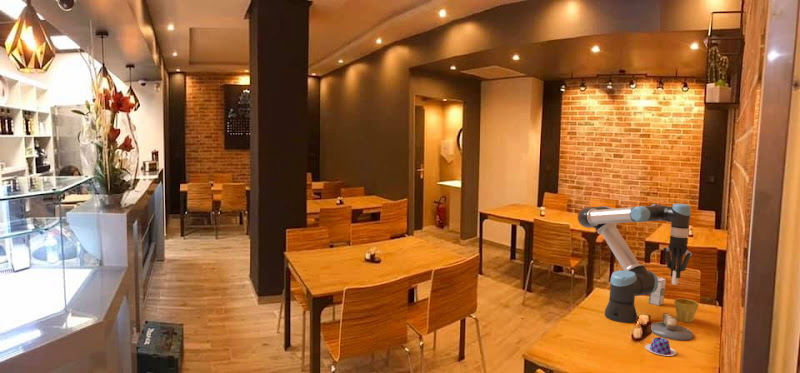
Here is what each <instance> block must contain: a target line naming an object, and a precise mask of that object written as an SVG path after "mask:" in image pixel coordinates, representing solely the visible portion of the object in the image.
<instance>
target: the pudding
mask: <svg viewBox="0 0 800 373" xmlns="http://www.w3.org/2000/svg"><path fill="white" fill-rule="evenodd" d="M644 348H645V349H646V350H647V351H649V352H651V353H652V354H656V355H659V356H665V357H666V356H667V357H670V356H671V357H673V356H675V355H677V351H676V350H675V349H673V348H672V347H670V342H669V339H667V338H663V337H660V336H656V337H654V338H652V341H651V343H647V344H645V345H644Z"/></svg>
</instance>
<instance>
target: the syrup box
mask: <svg viewBox="0 0 800 373" xmlns="http://www.w3.org/2000/svg"><path fill="white" fill-rule="evenodd" d="M657 279H658V288H657V290H656V291H655V292H653V293H651V294H648V296H649V297H648V303H649V304H652V305H656V306H661V305H664V300H665V290H666V278H663V277H659V276H657Z"/></svg>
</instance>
